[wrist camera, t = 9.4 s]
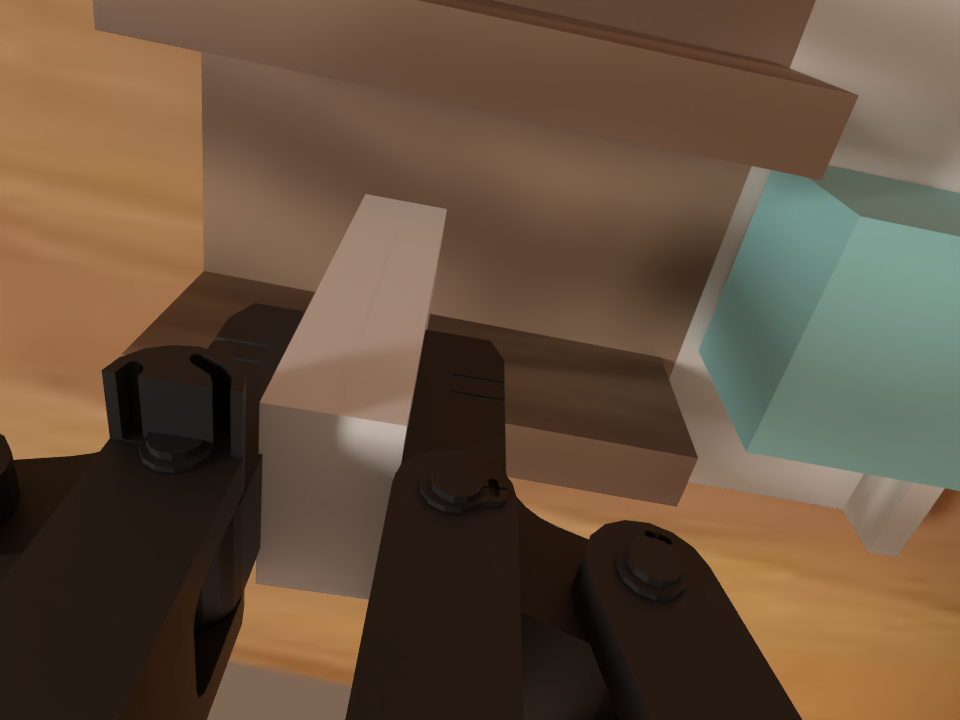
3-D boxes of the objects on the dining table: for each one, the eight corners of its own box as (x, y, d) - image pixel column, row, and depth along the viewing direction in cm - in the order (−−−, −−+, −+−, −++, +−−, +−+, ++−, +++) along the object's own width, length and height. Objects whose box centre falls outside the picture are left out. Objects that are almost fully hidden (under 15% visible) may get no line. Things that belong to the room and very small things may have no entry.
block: (777, 154, 18) (860, 216, 14) (1028, 207, 19) (1185, 282, 14) (698, 350, 21) (745, 452, 17) (915, 392, 22) (1017, 501, 17)
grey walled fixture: (215, -209, 16) (68, -294, 10) (1155, 6, 17) (1436, 27, 12) (216, 379, 24) (133, 497, 18) (857, 495, 25) (947, 635, 20)
